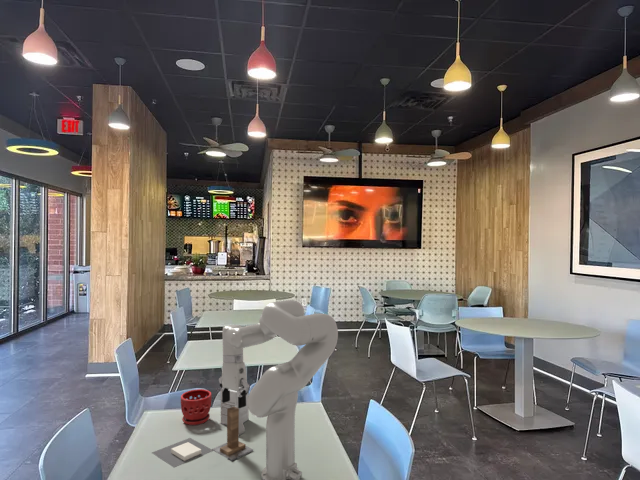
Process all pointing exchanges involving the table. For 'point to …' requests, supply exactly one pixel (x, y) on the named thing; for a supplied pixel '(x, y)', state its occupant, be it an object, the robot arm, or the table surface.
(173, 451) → the tile
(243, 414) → the supplement box
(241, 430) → the flask
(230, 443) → the wooden post stand
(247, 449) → the plate
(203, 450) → the mat
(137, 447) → the table surface
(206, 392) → the plant pot
